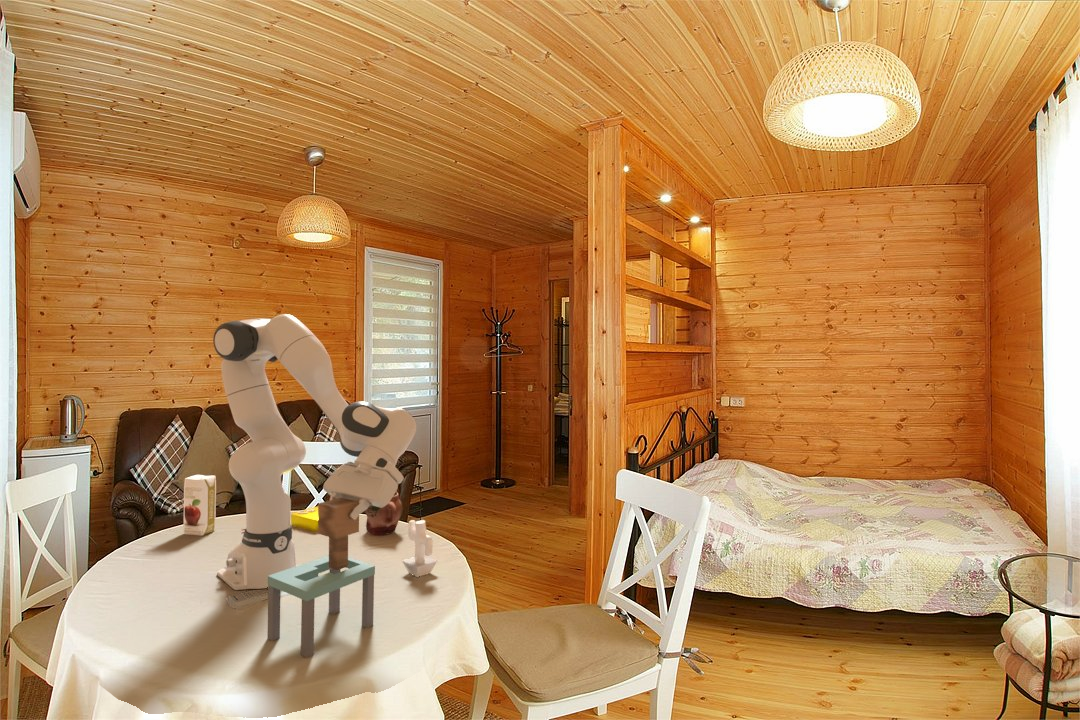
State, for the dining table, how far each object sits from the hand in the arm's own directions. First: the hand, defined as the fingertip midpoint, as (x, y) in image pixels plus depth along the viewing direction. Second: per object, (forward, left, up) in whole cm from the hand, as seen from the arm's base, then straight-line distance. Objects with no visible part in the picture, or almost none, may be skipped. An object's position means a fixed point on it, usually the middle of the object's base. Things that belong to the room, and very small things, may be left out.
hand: (339, 515), depth 137 cm
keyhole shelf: (0, -4, -26) cm, 26 cm away
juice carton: (-91, +15, -26) cm, 96 cm away
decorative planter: (-42, +52, -26) cm, 72 cm away
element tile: (-69, +46, -26) cm, 86 cm away
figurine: (-7, +34, -26) cm, 43 cm away
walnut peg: (0, 0, -12) cm, 12 cm away
